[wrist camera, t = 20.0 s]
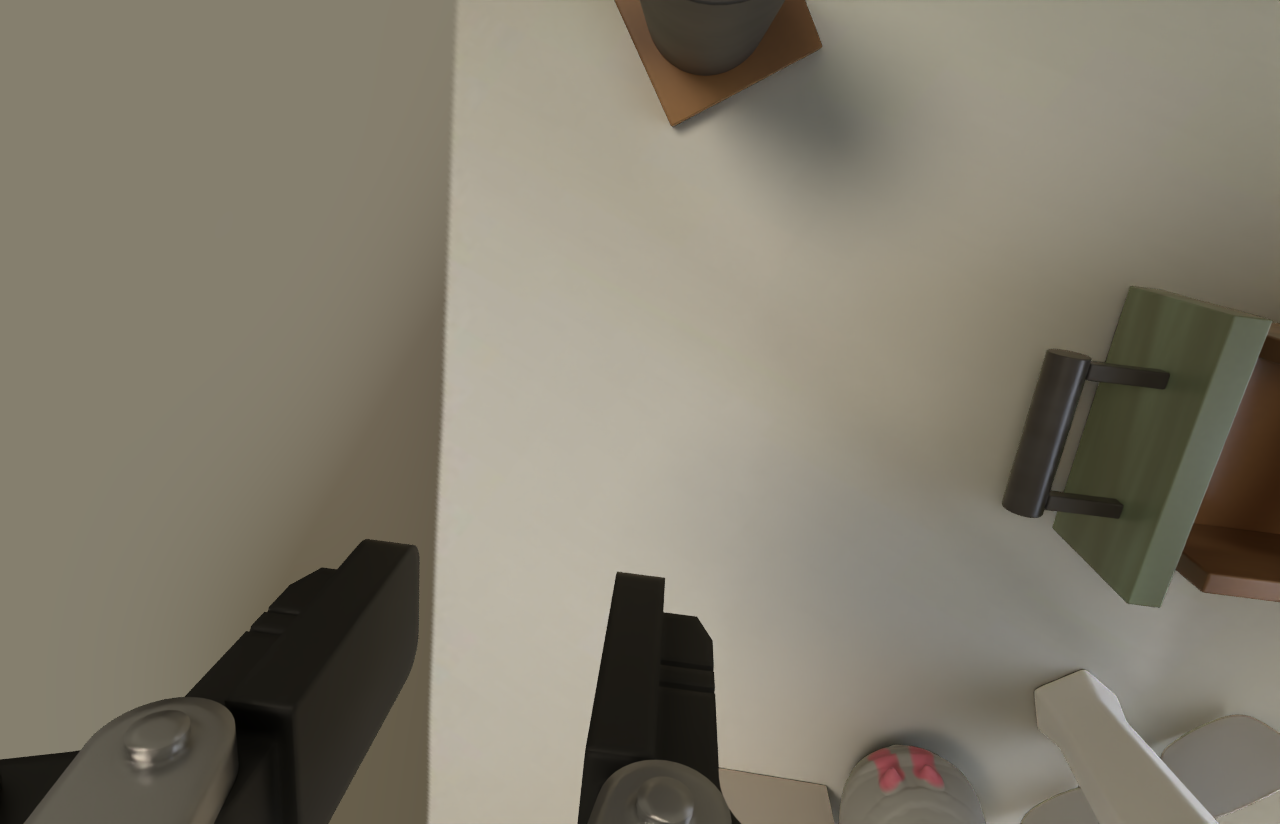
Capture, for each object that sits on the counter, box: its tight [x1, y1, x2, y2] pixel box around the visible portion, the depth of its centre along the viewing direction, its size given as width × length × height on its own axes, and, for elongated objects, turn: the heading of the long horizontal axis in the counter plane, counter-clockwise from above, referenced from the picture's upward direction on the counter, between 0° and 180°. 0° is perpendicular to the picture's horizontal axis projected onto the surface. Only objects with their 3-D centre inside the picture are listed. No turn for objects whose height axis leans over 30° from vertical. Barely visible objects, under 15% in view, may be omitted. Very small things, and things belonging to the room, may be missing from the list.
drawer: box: [1002, 286, 1280, 608], centre depth 27 cm, size 17×10×6 cm, turn 84°
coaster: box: [614, 0, 822, 127], centre depth 27 cm, size 6×6×1 cm
